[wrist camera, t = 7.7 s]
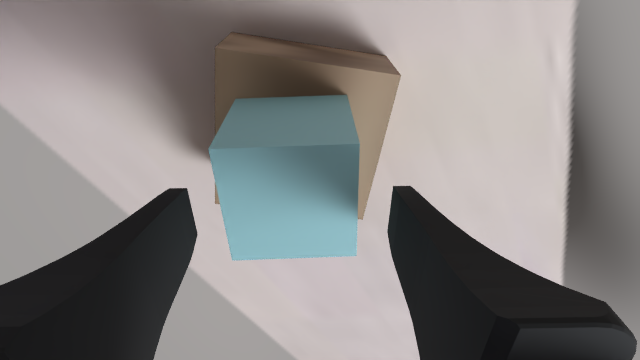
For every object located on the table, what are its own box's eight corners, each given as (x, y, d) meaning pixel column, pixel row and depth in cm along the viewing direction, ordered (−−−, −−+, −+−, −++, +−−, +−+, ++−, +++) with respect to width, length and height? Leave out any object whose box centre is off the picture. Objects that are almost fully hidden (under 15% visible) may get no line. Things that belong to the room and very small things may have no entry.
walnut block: (229, 166, 22) (215, 203, 19) (232, 31, 18) (214, 47, 15) (354, 181, 23) (362, 219, 20) (385, 54, 19) (401, 75, 16)
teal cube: (250, 191, 19) (232, 260, 14) (235, 98, 16) (208, 149, 12) (346, 188, 19) (356, 256, 14) (347, 94, 16) (359, 143, 12)
